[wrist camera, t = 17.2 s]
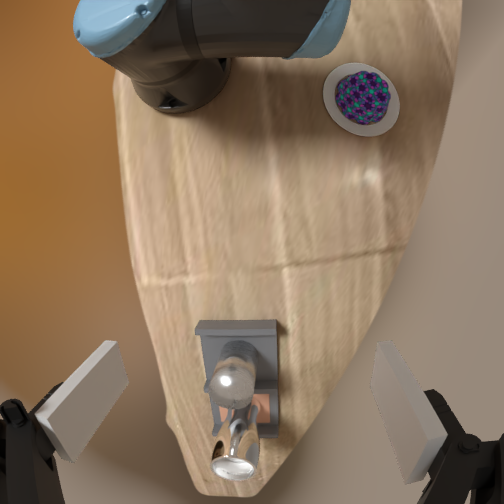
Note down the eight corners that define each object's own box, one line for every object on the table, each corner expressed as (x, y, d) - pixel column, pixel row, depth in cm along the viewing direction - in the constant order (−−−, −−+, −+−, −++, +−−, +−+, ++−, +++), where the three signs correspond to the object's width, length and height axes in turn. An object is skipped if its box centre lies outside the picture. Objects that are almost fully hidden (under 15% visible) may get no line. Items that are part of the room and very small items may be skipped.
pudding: (411, 120, 38) (425, 113, 33) (347, 150, 40) (357, 145, 35) (371, 55, 36) (381, 41, 31) (307, 80, 38) (310, 67, 33)
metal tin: (213, 353, 47) (199, 389, 37) (239, 332, 46) (230, 367, 36) (239, 377, 47) (230, 415, 38) (265, 357, 46) (262, 395, 36)
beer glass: (216, 405, 49) (198, 466, 34) (243, 385, 47) (230, 449, 33) (244, 425, 49) (234, 486, 35) (271, 407, 48) (268, 471, 33)
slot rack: (199, 320, 47) (194, 329, 43) (276, 319, 46) (276, 328, 42) (215, 424, 51) (212, 436, 48) (278, 426, 50) (278, 437, 47)
